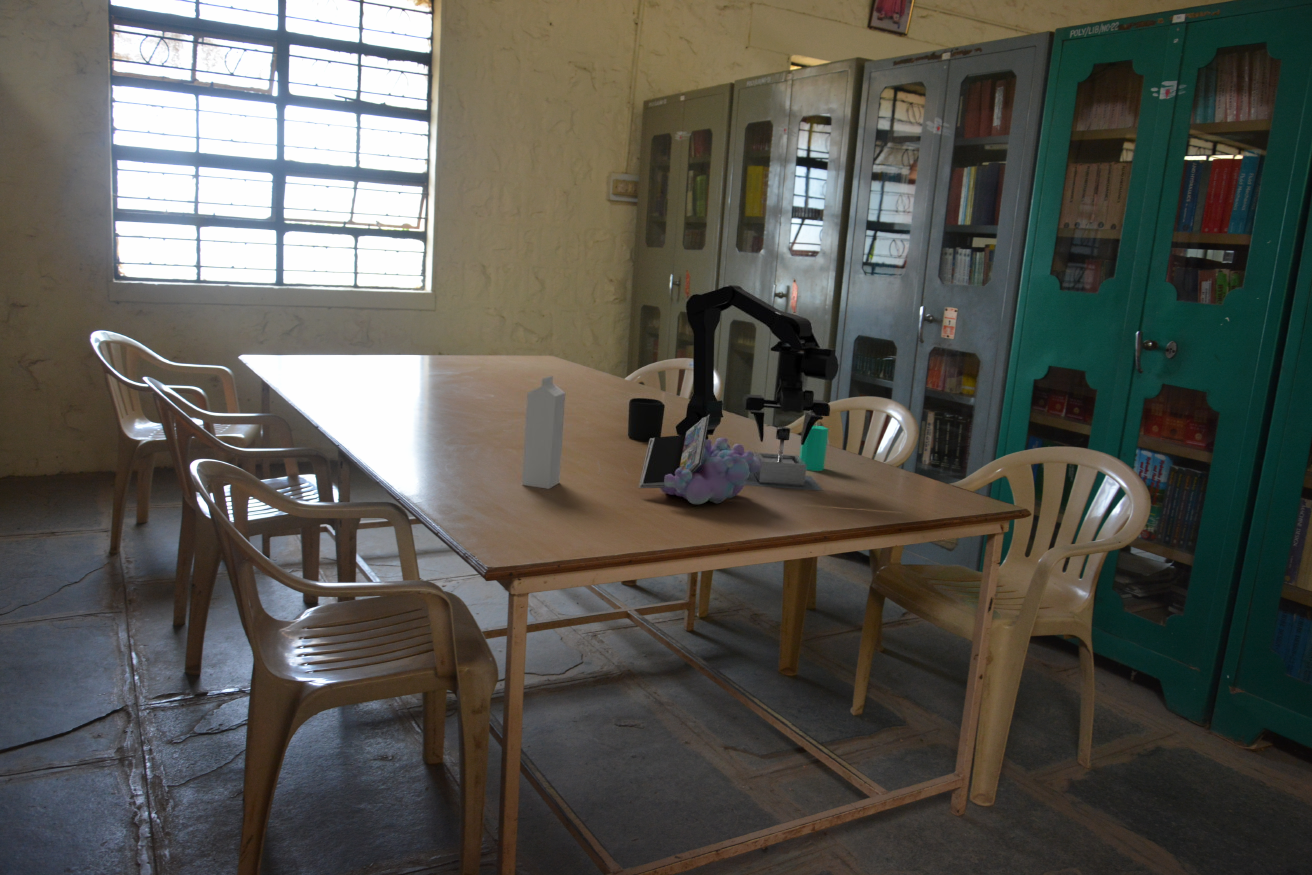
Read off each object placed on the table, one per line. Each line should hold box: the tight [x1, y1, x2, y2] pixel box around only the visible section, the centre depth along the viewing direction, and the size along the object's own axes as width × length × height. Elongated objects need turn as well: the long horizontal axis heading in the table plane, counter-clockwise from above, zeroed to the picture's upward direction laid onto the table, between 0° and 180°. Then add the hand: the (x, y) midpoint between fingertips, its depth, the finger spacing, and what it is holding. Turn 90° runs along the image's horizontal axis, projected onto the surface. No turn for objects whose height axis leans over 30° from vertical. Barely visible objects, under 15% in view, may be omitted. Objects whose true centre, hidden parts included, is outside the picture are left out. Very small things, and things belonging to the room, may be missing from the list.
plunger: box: [763, 426, 795, 463], centre depth 212 cm, size 7×7×8 cm
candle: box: [799, 421, 829, 472], centre depth 229 cm, size 6×6×12 cm
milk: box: [521, 375, 566, 490], centre depth 190 cm, size 6×6×22 cm
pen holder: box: [627, 397, 666, 442], centre depth 249 cm, size 9×9×10 cm
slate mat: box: [745, 473, 825, 492], centre depth 213 cm, size 18×14×1 cm
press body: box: [753, 451, 807, 487], centre depth 213 cm, size 13×10×5 cm
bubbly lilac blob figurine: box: [638, 414, 762, 505], centre depth 190 cm, size 20×22×18 cm
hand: (781, 443), depth 212 cm, fingers open, 9 cm apart
